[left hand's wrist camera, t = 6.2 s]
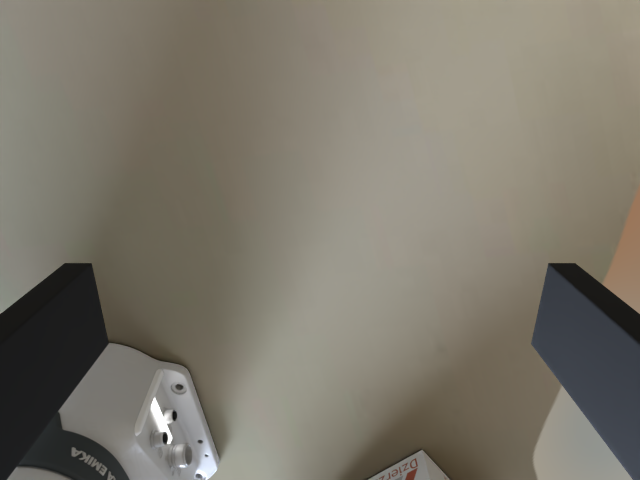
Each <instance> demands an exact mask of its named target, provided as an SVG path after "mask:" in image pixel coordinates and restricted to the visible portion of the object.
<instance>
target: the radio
mask: <svg viewBox="0 0 640 480" xmlns="http://www.w3.org/2000/svg"><path fill="white" fill-rule="evenodd" d="M368 480H450V479H449V478H448V477H447V476H446V475H445V474H444V473H443V471H442V470H441V469H440V468H439V467H438V466H437V465H436V464H435V463H434V462H433V461H432V460H431V459H430V458H429V456H428V455H427V454H426V453H425V452H424V451H423V450H421V451H419V452H417V453H415V454H413V455H412V456H410V457H408V458H406V459H404V460H402V461H401V462H399V463H397V464H395V465H393V466H392V467H390V468H388V469H386V470H384V471H382V472H381V473H379V474H377V475H375V476H373V477H372V478H370V479H368Z"/></svg>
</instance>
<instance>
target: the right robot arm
mask: <svg viewBox="0 0 640 480" xmlns="http://www.w3.org/2000/svg"><path fill="white" fill-rule="evenodd" d="M178 384H181V385H183V386H180V385H178ZM219 464H220V460H219V457H218V454H217V451H216V448H215V445H214V442H213V439H212V436H211V433H210V430H209V427H208V425H207V422H206V419H205V416H204V413H203V410H202V407H201V404H200V401H199V399H198V396H197V393H196V390H195V387H194V384H193V381H192V378H191V375H190V373H189V371H188V370H187V368H185V367H184V366H181V365H179V364H175V363H170V362H164V361H159V360H156V359H154V358H152V357H150V356H148V355H146V354H144V353H142V352H140V351H138V350H136V349H133V348H131V347H128V346H124V345H120V344H115V343H109V344H108V346H107V347H106V348H105V350H104V351H103V352H102V354H101V355H100V356H99V358H98V359H97V360H96V362H95V363H94V364H93V366H92V367H91V368H90V370H89V371H88V372H87V374H86V375H85V376H84V378H83V379H82V380H81V382H80V383H79V384H78V386H77V387H76V388H75V390H74V391H73V392H72V394H71V395H70V396H69V398H68V399H67V400H66V402H65V403H64V404H63V406H62V407H61V408H60V410H59V411H58V412H57V414H56V415H55V416H54V418H53V419H52V420H51V422H50V423H49V424H48V426H47V427H46V428H45V430H44V431H43V432H42V434H41V435H40V436H39V438H38V439H37V440H36V442H35V443H34V444H33V446H32V447H31V448H30V450H29V451H28V452H27V454H26V455H25V456H24V458H23V459H22V460H21V462H20V463H19V464H18V466H17V467H16V468H15V470H14V471H13V472H12V474H11V475H10V476H9V478H8V479H7V480H207V479H208V478H210V477H211V476H212V475H213V474H214V473H215V472H216V470H217V469H218V466H219Z"/></svg>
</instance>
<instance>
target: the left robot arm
mask: <svg viewBox="0 0 640 480" xmlns="http://www.w3.org/2000/svg"><path fill="white" fill-rule="evenodd" d="M108 344H109V343H108V338H107V333H106V329H105V324H104V319H103V315H102V310H101V305H100V301H99V296H98V291H97V287H96V282H95V277H94V273H93V268H92V263H65V264H63V265H62V266H61V267H60V268H58V269H57V270H56V271H54V272H53V273H52V274H51V275H49V276H48V277H47V278H46V279H44V280H43V281H42V282H41V283H39V284H38V285H37V286H35V287H34V288H33V289H32V290H30V291H29V292H28V293H27V294H25V295H24V296H23V297H22V298H20V299H19V300H18V301H16V302H15V303H14V304H13V305H11V306H10V307H9V308H8V309H6V310H5V311H4V312H3V313H1V314H0V480H7V479H8V478H9V476H10V475H11V474H12V472H13V471H14V470H15V468H16V467H17V466H18V464H19V463H20V462H21V460H22V459H23V458H24V456H25V455H26V454H27V452H28V451H29V450H30V448H31V447H32V446H33V444H34V443H35V442H36V440H37V439H38V438H39V436H40V435H41V434H42V432H43V431H44V430H45V428H46V427H47V426H48V424H49V423H50V422H51V420H52V419H53V418H54V416H55V415H56V414H57V412H58V411H59V410H60V408H61V407H62V406H63V404H64V403H65V402H66V400H67V399H68V398H69V396H70V395H71V394H72V392H73V391H74V390H75V388H76V387H77V386H78V384H79V383H80V382H81V380H82V379H83V378H84V376H85V375H86V374H87V372H88V371H89V370H90V368H91V367H92V366H93V364H94V363H95V362H96V360H97V359H98V358H99V356H100V355H101V354H102V352H103V351H104V350H105V348H106V347H107V346H108ZM531 344H532V346H533V347H534V348H535V350H536V351H537V352H538V354H539V355H540V356H541V358H542V359H543V360H544V362H545V363H546V364H547V366H548V367H549V368H550V370H551V371H552V372H553V374H554V375H555V376H556V378H557V379H558V380H559V382H560V383H561V384H562V386H563V387H564V388H565V390H566V391H567V392H568V394H569V395H570V396H571V398H572V399H573V400H574V401H575V403H576V404H577V406H578V407H579V408H580V410H581V411H582V412H583V414H584V415H585V416H586V418H587V419H588V420H589V422H590V423H591V424H592V426H593V427H594V428H595V430H596V431H597V432H598V434H599V435H600V436H601V438H602V439H603V440H604V442H605V443H606V444H607V446H608V447H609V448H610V450H611V451H612V452H613V454H614V455H615V456H616V458H617V459H618V460H619V462H620V463H621V464H622V466H623V467H624V468H625V470H626V471H627V472H628V474H629V475H630V476H631V478H632V479H633V480H640V314H639V313H637V312H636V311H635V310H634V309H632V308H631V307H630V306H629V305H627V304H626V303H625V302H623V301H622V300H621V299H620V298H618V297H617V296H616V295H615V294H613V293H612V292H611V291H610V290H608V289H607V288H606V287H604V286H603V285H602V284H601V283H599V282H598V281H597V280H596V279H594V278H593V277H592V276H591V275H589V274H588V273H587V272H585V271H584V270H583V269H582V268H580V267H579V266H578V265H577V264H575V263H548V268H547V273H546V277H545V282H544V287H543V291H542V296H541V301H540V305H539V310H538V315H537V319H536V324H535V329H534V333H533V338H532V343H531Z"/></svg>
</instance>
